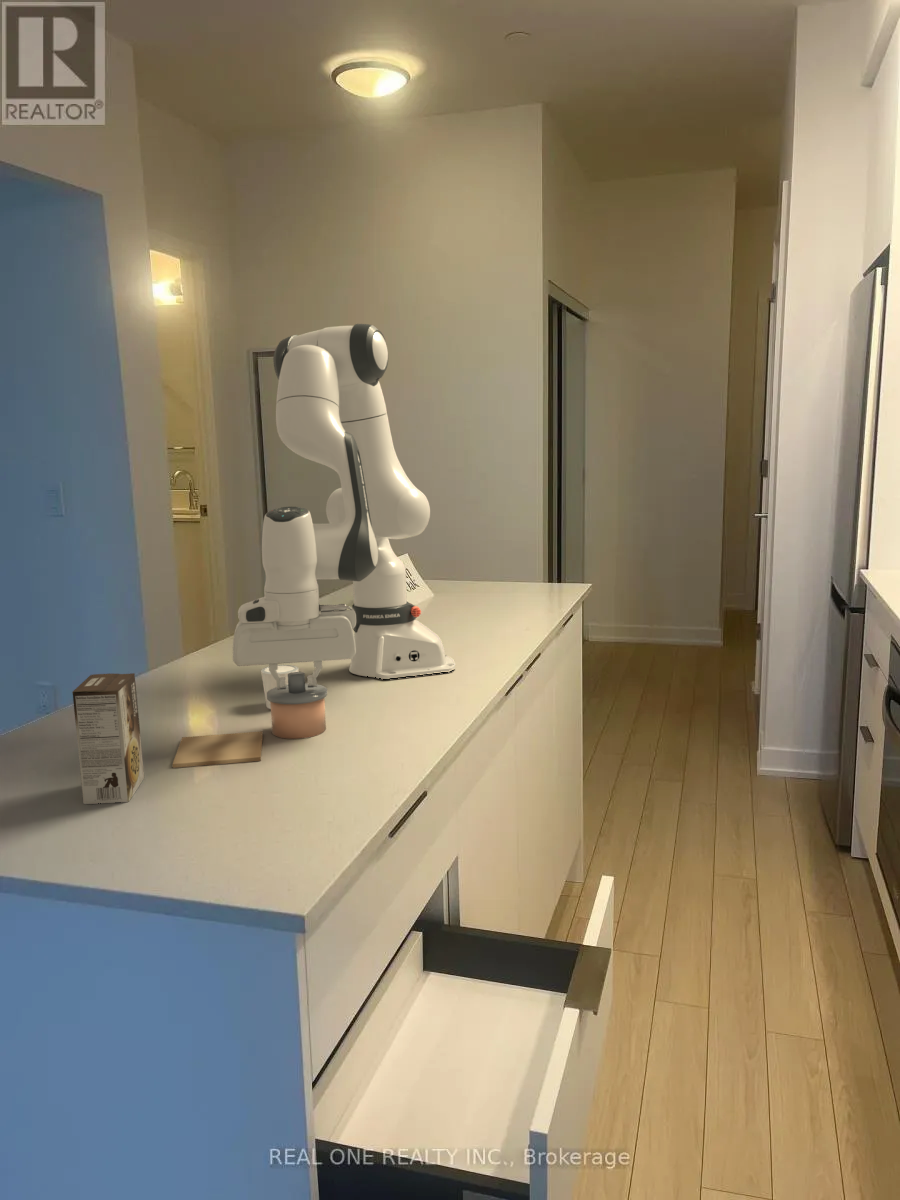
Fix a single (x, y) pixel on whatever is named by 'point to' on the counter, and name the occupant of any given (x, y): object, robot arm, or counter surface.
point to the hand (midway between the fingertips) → (296, 687)
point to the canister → (298, 719)
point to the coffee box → (108, 738)
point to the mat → (219, 749)
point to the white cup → (270, 681)
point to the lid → (296, 691)
